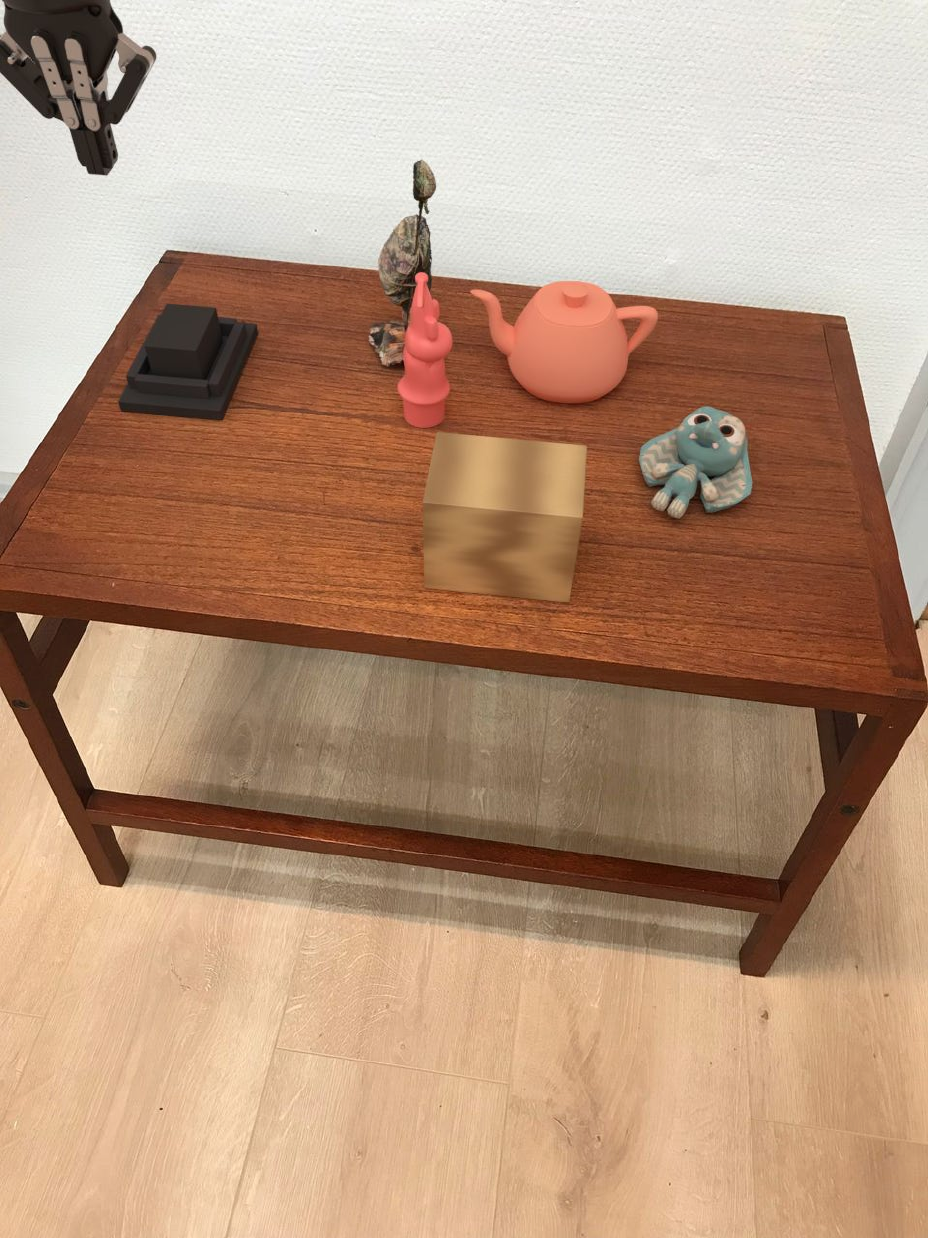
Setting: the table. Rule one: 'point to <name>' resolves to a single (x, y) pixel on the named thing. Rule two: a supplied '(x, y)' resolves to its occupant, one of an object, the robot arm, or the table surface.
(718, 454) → the stuffed animal
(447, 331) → the figurine
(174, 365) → the small black block
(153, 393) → the base pad
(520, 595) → the oak block
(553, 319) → the teapot
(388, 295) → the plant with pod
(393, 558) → the table surface
